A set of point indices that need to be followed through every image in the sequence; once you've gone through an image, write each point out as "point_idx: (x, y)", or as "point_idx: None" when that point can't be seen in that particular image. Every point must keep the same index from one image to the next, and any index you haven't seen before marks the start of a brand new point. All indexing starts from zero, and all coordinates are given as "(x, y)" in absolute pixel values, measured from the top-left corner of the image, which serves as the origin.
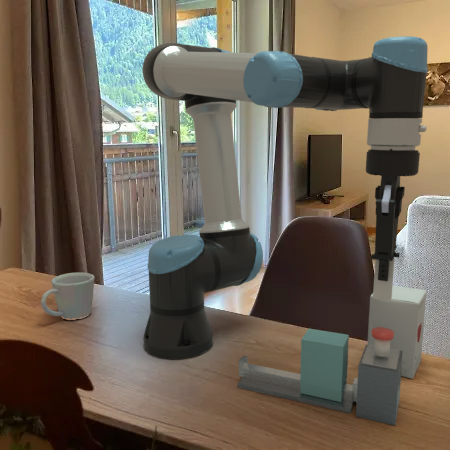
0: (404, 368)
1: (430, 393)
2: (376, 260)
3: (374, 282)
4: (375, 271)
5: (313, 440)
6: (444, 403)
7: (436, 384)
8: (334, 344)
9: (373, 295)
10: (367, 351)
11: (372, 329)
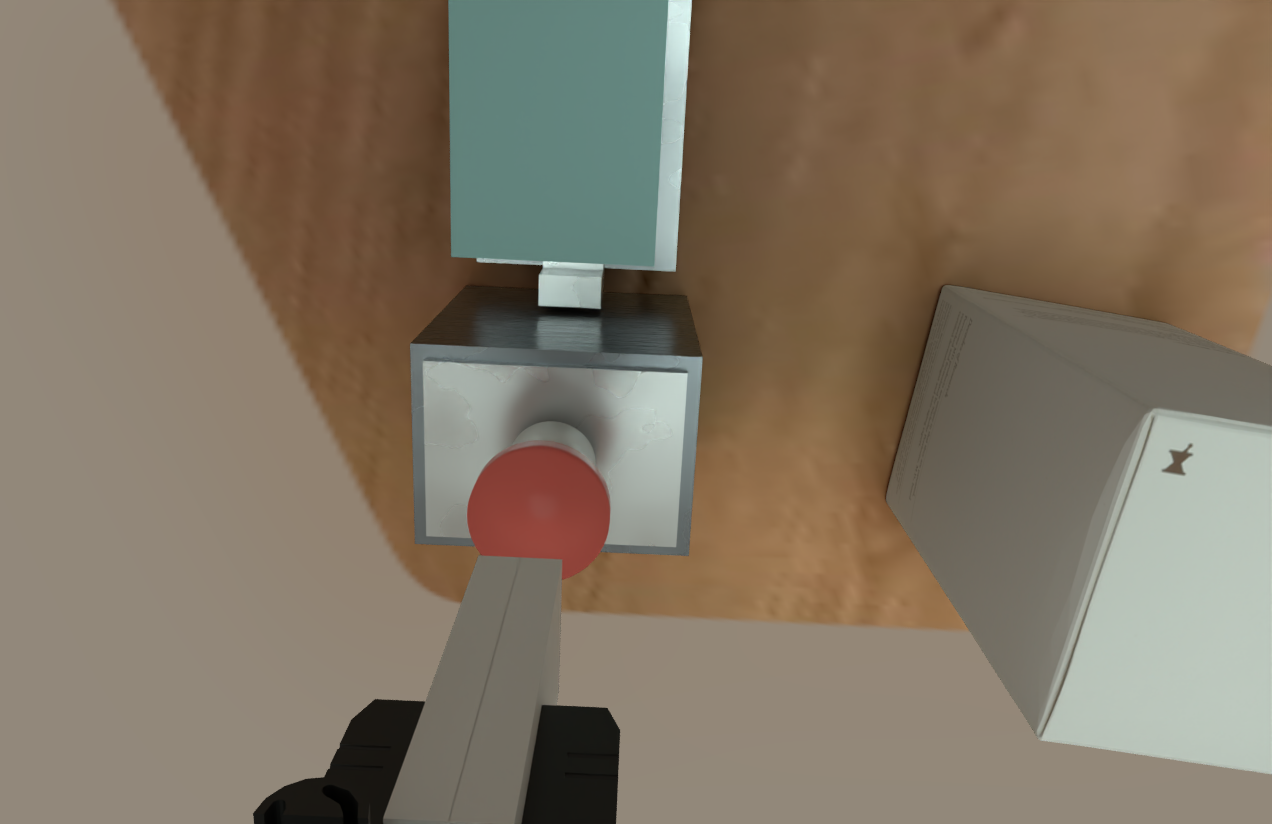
0: (904, 481)
1: (778, 568)
2: (392, 812)
3: (449, 639)
4: (420, 715)
5: (215, 136)
6: (713, 615)
7: (868, 593)
8: (461, 196)
9: (477, 570)
10: (580, 379)
11: (547, 454)
